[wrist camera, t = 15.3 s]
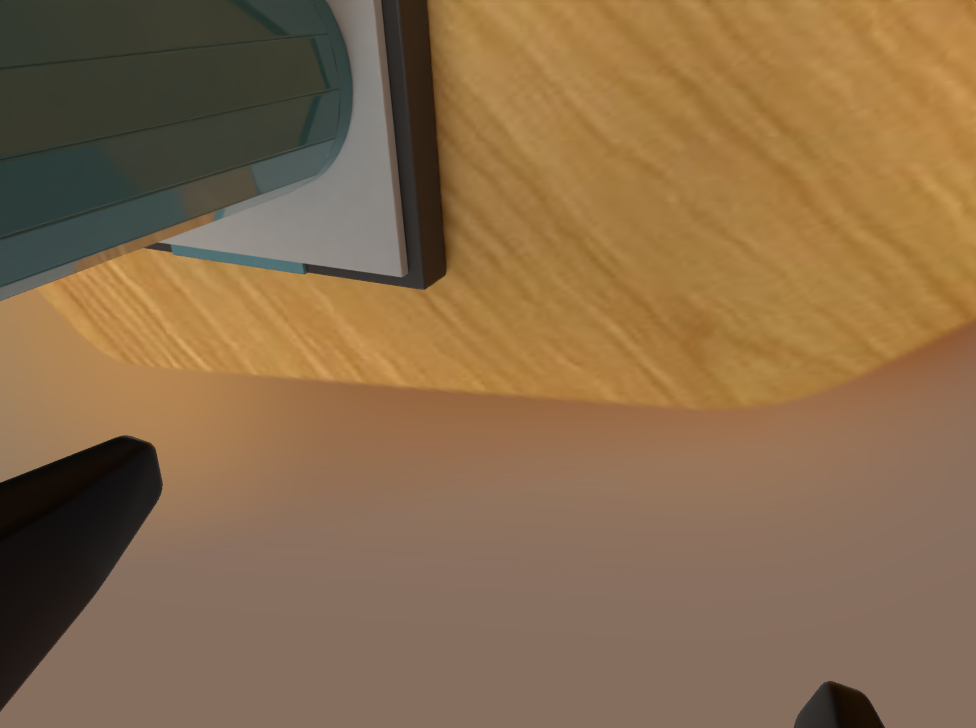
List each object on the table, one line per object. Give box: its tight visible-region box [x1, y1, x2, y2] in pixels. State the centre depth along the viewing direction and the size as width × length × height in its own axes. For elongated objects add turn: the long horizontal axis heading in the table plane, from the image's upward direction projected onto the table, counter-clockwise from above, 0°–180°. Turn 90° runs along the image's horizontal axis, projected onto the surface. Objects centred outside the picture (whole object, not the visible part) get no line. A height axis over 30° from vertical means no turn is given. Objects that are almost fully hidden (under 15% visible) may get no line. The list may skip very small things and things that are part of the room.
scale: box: [144, 0, 446, 290], centre depth 21 cm, size 15×15×2 cm
